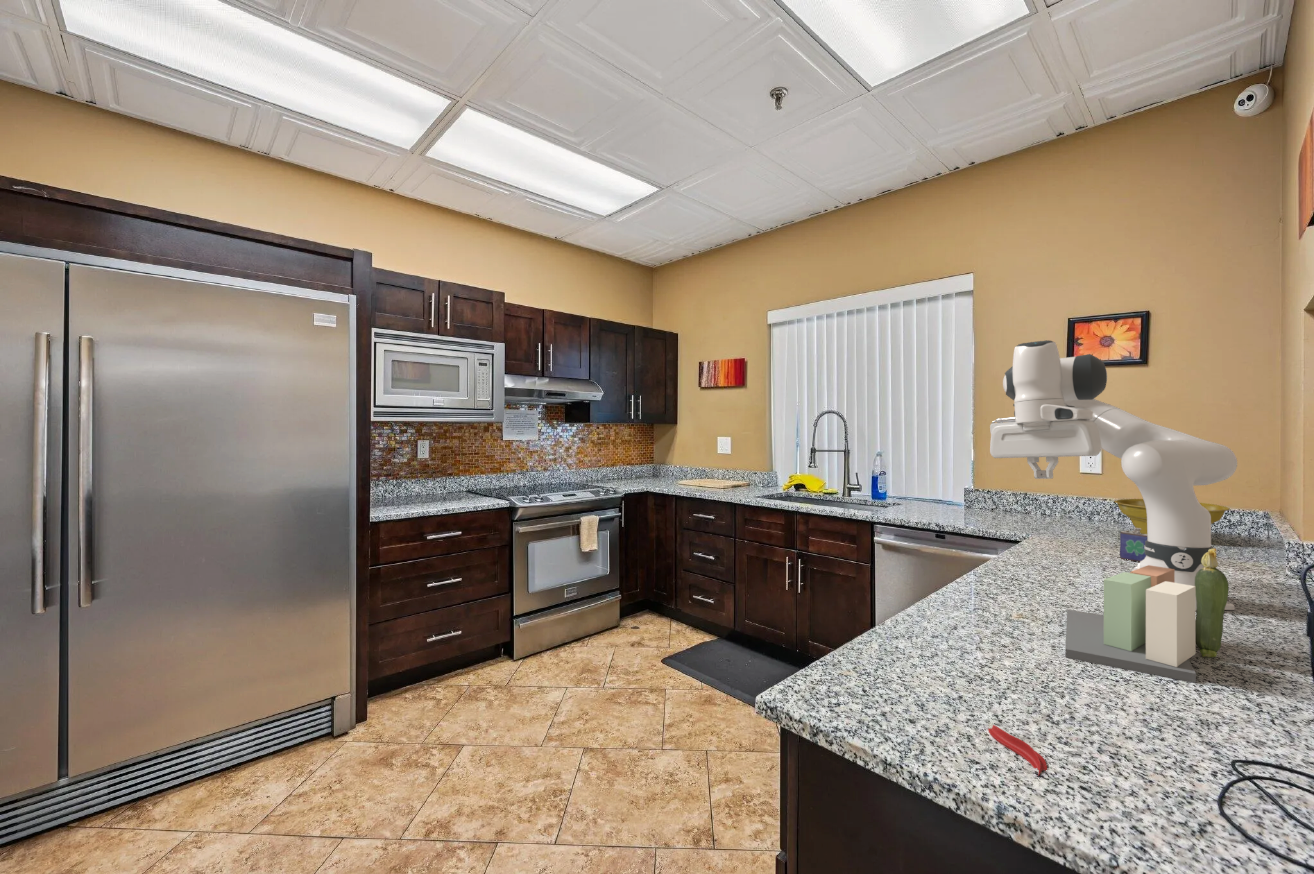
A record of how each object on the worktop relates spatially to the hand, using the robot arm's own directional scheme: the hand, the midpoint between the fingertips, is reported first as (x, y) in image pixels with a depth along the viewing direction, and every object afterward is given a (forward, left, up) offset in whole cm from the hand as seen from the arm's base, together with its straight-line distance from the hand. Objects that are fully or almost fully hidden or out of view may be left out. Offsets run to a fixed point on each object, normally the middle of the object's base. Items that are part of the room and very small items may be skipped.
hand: (1043, 478), depth 117 cm
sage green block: (+9, +13, -29) cm, 33 cm away
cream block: (+13, +19, -29) cm, 37 cm away
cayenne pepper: (+60, -1, -32) cm, 67 cm away
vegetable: (+4, +25, -31) cm, 40 cm away
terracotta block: (-1, +17, -29) cm, 34 cm away
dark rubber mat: (+6, +12, -31) cm, 34 cm away
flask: (-86, +21, -31) cm, 94 cm away
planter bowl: (-143, +34, -31) cm, 150 cm away
